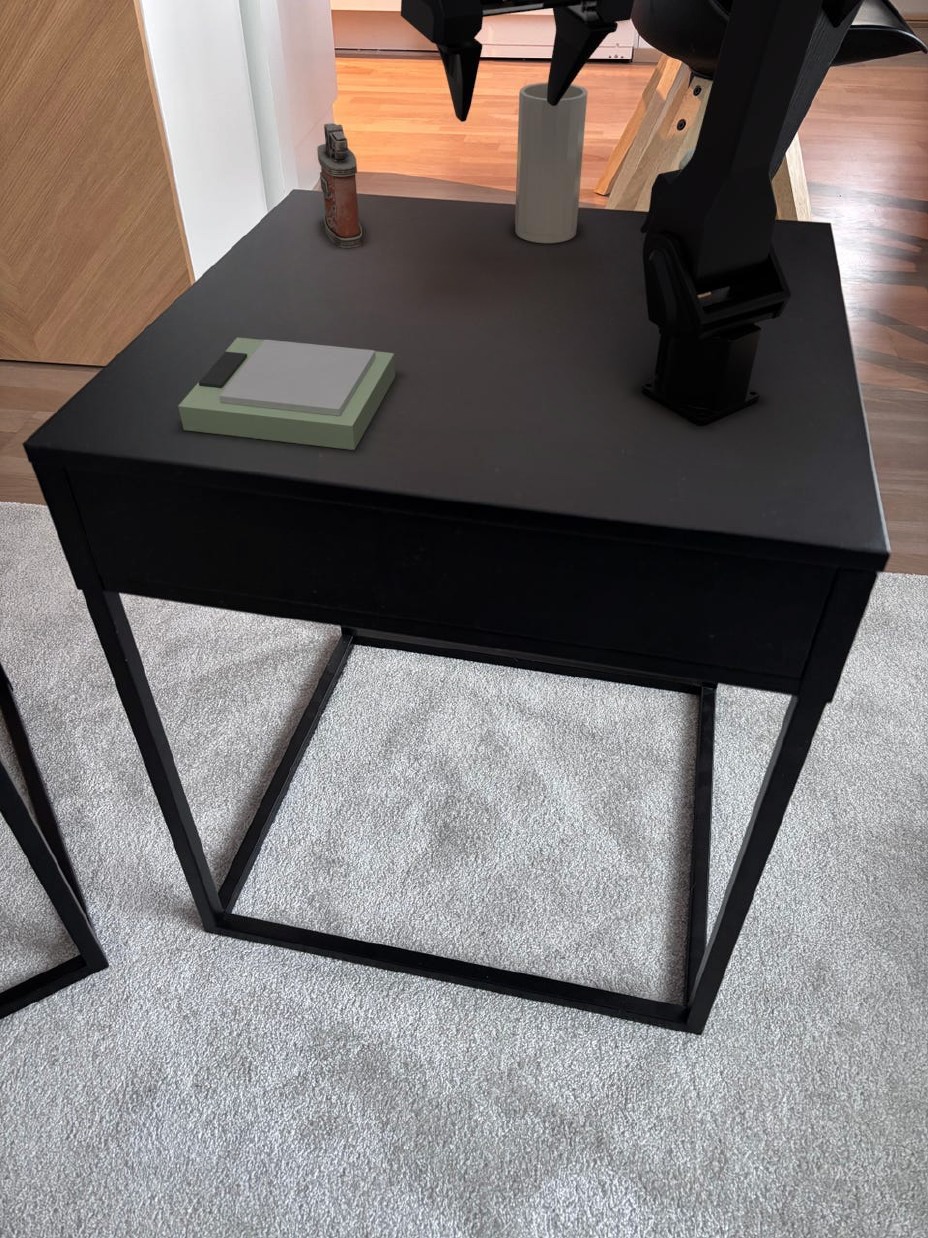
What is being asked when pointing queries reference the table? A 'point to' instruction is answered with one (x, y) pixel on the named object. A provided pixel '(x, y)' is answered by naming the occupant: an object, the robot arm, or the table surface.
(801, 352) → the table surface
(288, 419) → the scale
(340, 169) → the lighter
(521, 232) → the tumbler
